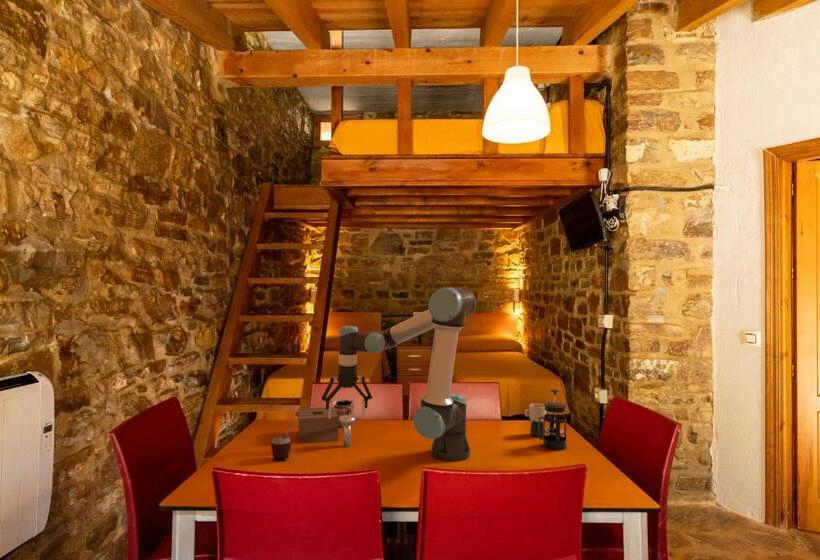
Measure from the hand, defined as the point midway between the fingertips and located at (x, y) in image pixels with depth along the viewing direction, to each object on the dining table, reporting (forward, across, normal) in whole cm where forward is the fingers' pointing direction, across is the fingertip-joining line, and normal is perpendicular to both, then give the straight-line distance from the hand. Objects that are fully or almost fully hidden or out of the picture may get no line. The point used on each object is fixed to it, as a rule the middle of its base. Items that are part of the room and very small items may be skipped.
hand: (346, 417), depth 194 cm
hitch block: (+12, +11, -15) cm, 22 cm away
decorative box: (+12, -1, -34) cm, 37 cm away
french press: (+11, -82, +18) cm, 85 cm away
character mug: (+11, -83, +3) cm, 84 cm away
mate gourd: (+12, +25, +10) cm, 29 cm away
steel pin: (+12, 0, 0) cm, 12 cm away
